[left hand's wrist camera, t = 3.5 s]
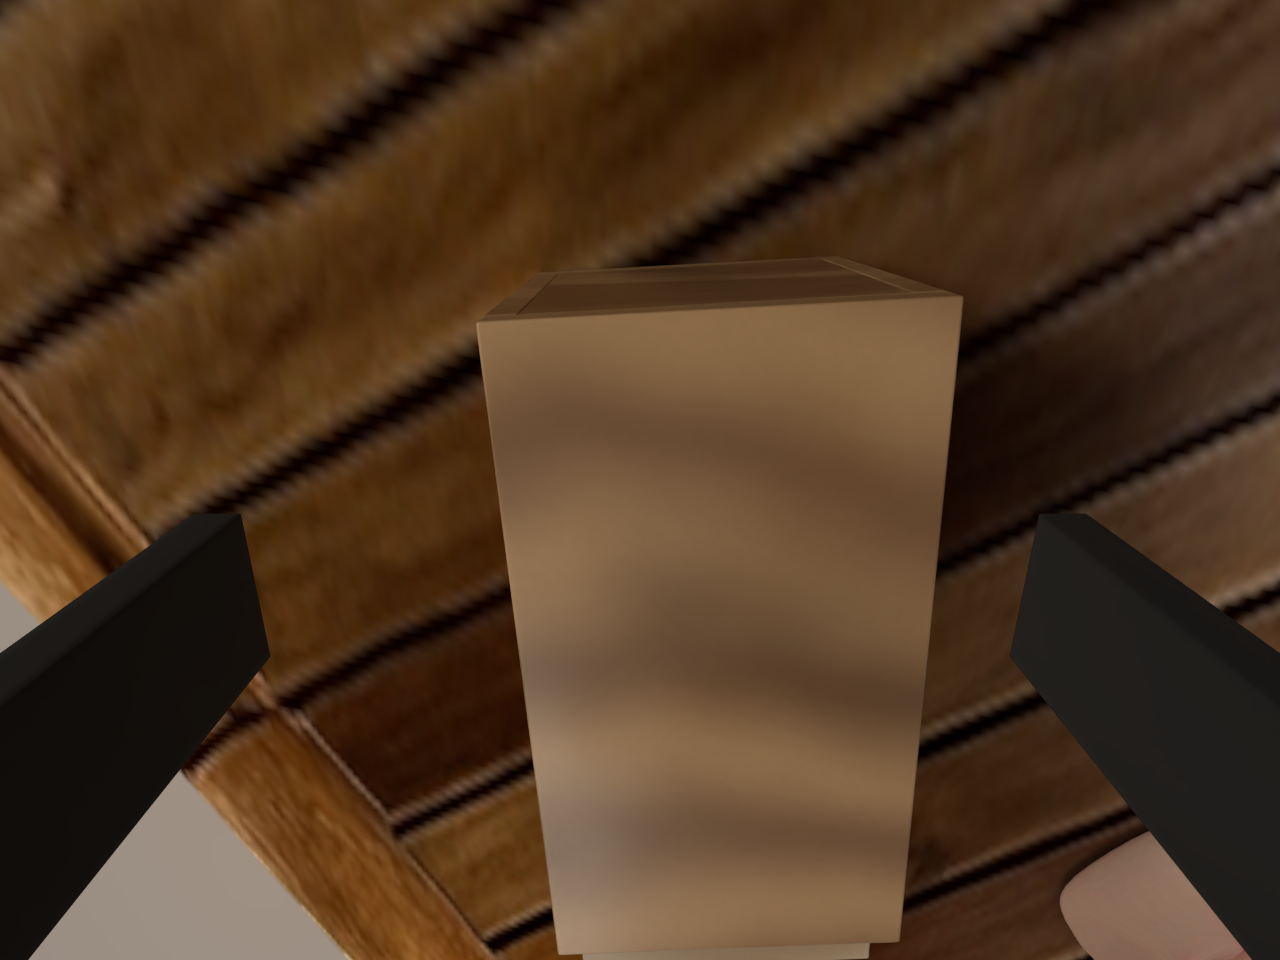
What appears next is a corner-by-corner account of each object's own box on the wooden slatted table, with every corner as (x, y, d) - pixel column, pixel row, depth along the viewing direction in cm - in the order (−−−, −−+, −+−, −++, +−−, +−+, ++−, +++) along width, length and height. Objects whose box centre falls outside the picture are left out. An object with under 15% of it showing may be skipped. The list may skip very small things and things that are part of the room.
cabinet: (821, 714, 33) (900, 943, 23) (582, 725, 33) (557, 956, 23) (839, 255, 26) (965, 295, 16) (537, 272, 26) (474, 322, 16)
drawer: (807, 857, 35) (860, 1067, 27) (606, 866, 35) (596, 1077, 27) (825, 347, 26) (912, 419, 18) (559, 361, 27) (523, 438, 18)
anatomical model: (1061, 1004, 34) (1254, 837, 30) (1019, 924, 38) (1187, 767, 34) (1268, 1099, 36) (1470, 955, 33) (1210, 1015, 40) (1385, 878, 36)
